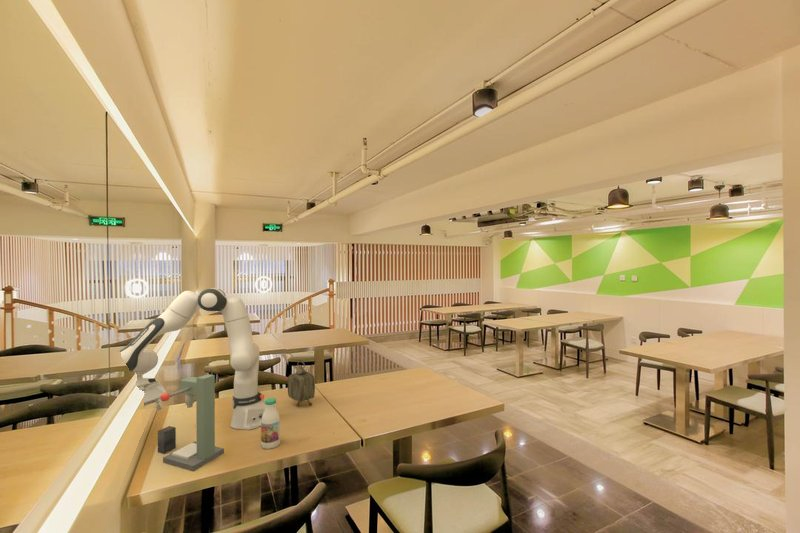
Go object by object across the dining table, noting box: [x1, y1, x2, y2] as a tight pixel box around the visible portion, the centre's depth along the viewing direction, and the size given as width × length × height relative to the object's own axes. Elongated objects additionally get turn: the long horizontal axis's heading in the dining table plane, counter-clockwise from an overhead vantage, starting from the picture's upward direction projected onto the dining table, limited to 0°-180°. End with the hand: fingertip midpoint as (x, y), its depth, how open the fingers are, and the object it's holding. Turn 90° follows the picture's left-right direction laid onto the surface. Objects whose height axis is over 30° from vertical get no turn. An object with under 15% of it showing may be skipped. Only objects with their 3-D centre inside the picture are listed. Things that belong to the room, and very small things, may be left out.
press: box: [160, 374, 225, 472], centre depth 139 cm, size 17×22×34 cm
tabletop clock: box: [287, 360, 316, 407], centre depth 197 cm, size 14×9×25 cm, turn 49°
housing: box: [157, 425, 177, 455], centre depth 148 cm, size 5×4×9 cm
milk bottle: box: [260, 397, 281, 450], centre depth 152 cm, size 8×8×20 cm
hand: (149, 413), depth 153 cm, fingers open, 8 cm apart
